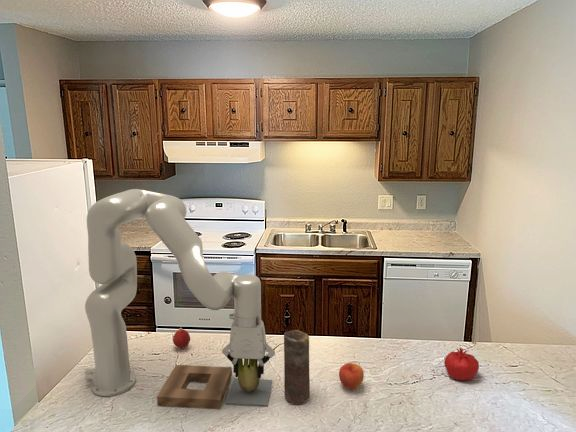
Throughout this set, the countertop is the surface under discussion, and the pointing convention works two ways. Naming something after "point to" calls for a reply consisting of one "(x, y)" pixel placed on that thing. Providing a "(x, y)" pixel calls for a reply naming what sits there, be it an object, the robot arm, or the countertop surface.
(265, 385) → the mat
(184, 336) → the red ovoid
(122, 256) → the robot arm
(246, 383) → the fennel bulb
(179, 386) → the pocket holder
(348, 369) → the apple
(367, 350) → the countertop surface
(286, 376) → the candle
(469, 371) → the pomegranate
